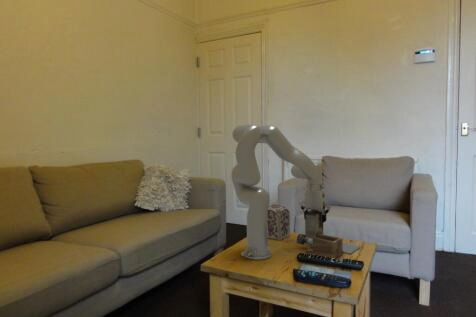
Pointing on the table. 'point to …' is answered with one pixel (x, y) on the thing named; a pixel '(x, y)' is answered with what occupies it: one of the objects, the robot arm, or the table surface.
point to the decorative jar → (278, 222)
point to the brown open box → (326, 246)
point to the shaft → (304, 239)
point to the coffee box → (313, 224)
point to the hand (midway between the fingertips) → (315, 220)
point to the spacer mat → (349, 248)
